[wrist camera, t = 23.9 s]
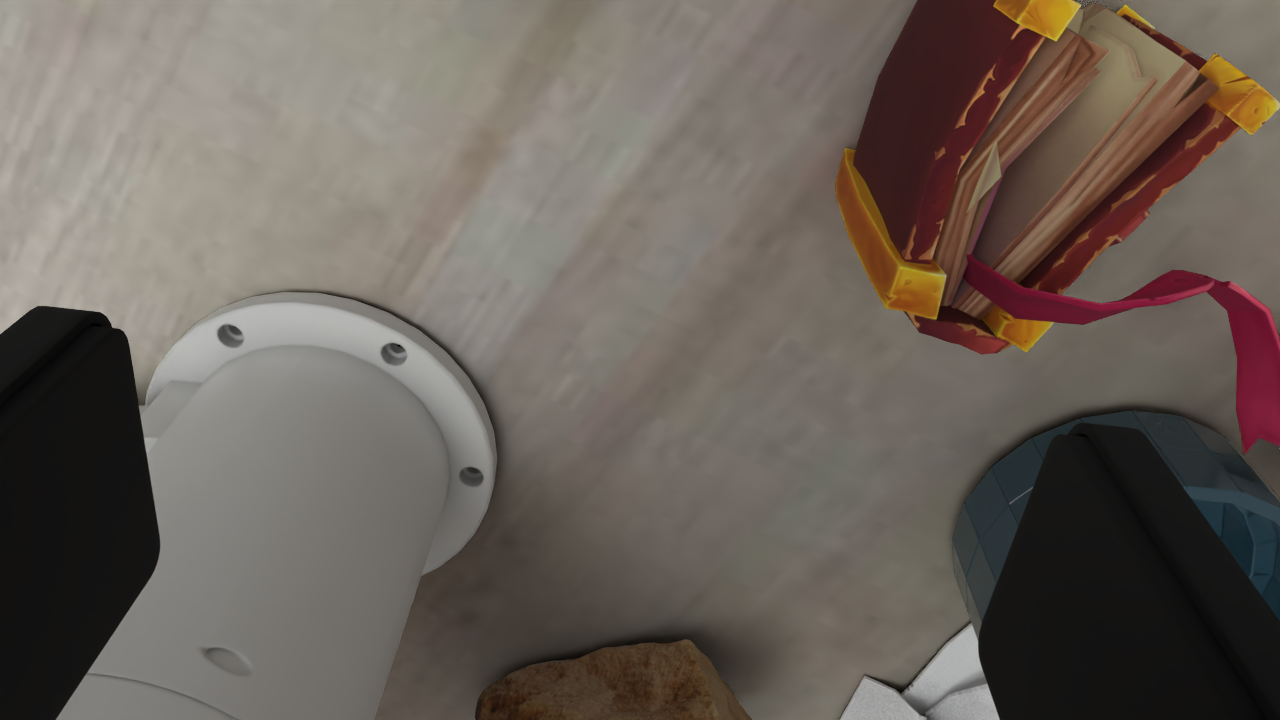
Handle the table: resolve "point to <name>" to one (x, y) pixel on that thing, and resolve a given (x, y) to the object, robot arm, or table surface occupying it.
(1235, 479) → the bowl
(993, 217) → the book monster
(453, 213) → the table surface
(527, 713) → the decorative rock
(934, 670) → the cloth
